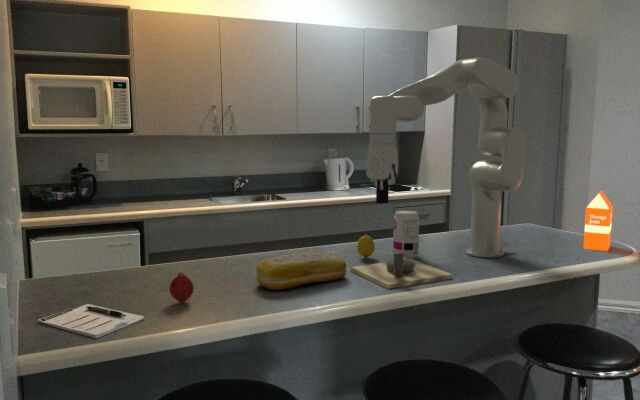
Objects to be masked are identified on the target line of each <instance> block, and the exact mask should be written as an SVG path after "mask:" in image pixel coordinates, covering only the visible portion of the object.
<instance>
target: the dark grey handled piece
mask: <svg viewBox="0 0 640 400" xmlns="http://www.w3.org/2000/svg"><path fill="white" fill-rule="evenodd" d="M386 262H387V270H389V271H392V272H393V276H395V277H402V276H403V273H406V272H412V271H414V262H412V261H408V260H406V259H405V258H404V253H402V252H394V255H393V259H391V260H388V261H386Z"/></svg>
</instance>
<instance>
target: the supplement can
mask: <svg viewBox="0 0 640 400" xmlns="http://www.w3.org/2000/svg"><path fill="white" fill-rule="evenodd" d="M392 237H393V244H392V245H393V246H392V247H393V249H392V250H393V251H392V254H393V256H394V252H402V253H404V258H405V260H406V259H413V260H415V259H416V258H417V257H418V256H419V240H420V216H419V214H418V211H415V210H398V211H397V210H396V211H395V213H394V215H393V236H392Z"/></svg>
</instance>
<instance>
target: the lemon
mask: <svg viewBox="0 0 640 400" xmlns="http://www.w3.org/2000/svg"><path fill="white" fill-rule="evenodd" d="M357 242H358V243H357V245H356V247H357V252H358V254H359V255H360V256H361V257H363V258H364V259H368V258H369V257H370V256H372V255H373V253H374V252H375V242H374V239H373V238H372V237H371V236H370V235H368V234H364V235H362V236H361V237H360V238H359V239H358V241H357Z"/></svg>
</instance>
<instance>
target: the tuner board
mask: <svg viewBox="0 0 640 400" xmlns="http://www.w3.org/2000/svg"><path fill="white" fill-rule="evenodd" d="M405 260H408V261H412V262H414V271H412V272H406V273H403V276H402V277H395V276H393V272H392V271H389V270H387V262H388V261H385V262H377V263H371V264H370V263H369V264H364V265H356V266H351V267H350V272H352V273H354V274H355V275H356V274H357V275H358V276H360V277H362V278H364V279H366V280H369V281H370V282H372V283H375V284H377V285H379V286H381V287H383V288H385V289H387V290H389V289H396V288H402V287H408V286H413V285H420V284H425V283H431V282H438V281H444V280H451V279H453V273H450V272H447V271H445V270H442V269H440V268H436V267H434V266H431V265H429V264H426V263H424V262H421V261H418V260H416V259H405Z"/></svg>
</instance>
